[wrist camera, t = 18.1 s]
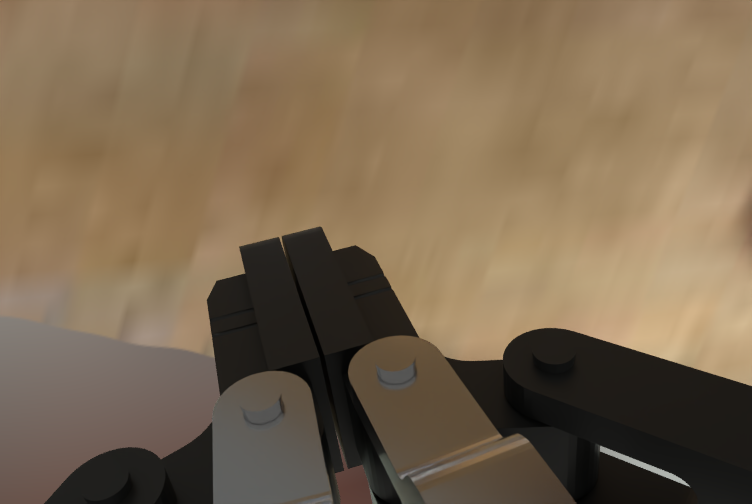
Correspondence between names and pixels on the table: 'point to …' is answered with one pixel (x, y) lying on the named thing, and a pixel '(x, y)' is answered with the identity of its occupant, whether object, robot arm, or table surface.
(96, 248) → the table surface
